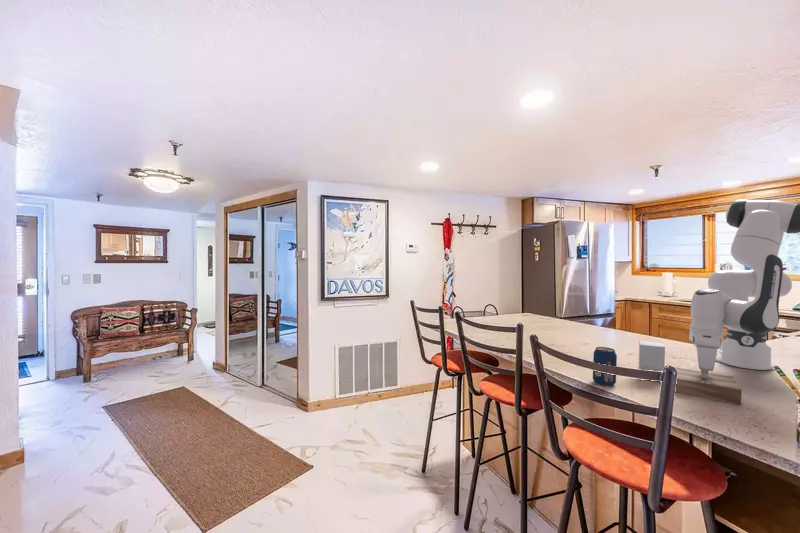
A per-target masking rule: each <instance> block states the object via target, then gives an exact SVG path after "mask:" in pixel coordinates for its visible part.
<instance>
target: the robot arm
mask: <svg viewBox="0 0 800 533" xmlns="http://www.w3.org/2000/svg"><path fill="white" fill-rule="evenodd" d="M725 218H726V223H727V224H728V226H730V227H733V228H737V231H736V233H735V235H734V238H733V241H732V243H731V247H730V254H731V256H732V259H734V260H735V261H736V262H737V263H738V264H740V265H742V266H744V267H747V268H748V269H747V270H746V269H724V270H717V271H713V272H712V273H711V275H709V277H708V279H707V285H708V288H702V289H698V290H696V291H694V293H693V295H692V299H691V301H690V302H691V303H690V317H691V322H690V325H689V338H688V339H689V341H690V342H692V343H693V345H694V346H695V348H696V355H697V356H696V357H697V366H698V368H699V370H700V371H701V377H702V378H708V373H710V372H713V371H714V369H715V366H716V362H719V363H723V364H725V365H729V366H733V367H737V368H743V369H748V370H749V369H750V370H759V371H767V370H771V371H772V370H773V371H774V369H773V367H774V366H775V365H774V364H772V348H771V347H770V346H769V345H768V344H767V343H766V342H767V339H768V337H767V336H768V335H767V334H768V333H770V332H772V331H774V330H775V329H776V328H777V327H778V325H779V323H780V310H779V308H780V307H779V304H780V298H782V297H785V296H787V295H788V294H790V292H791V290H792V288H793V282H792V280H791V278H790V277H789V275H788V274H786V273H785V272H783V271H784V264H783V261H782V259H781V258H780V257H779V251H780V248H781V246H782V242H783V239H784V234H785V233H786V234H788V235H789V234H799V233H800V202H797V203H795V202H789V201H785V200H783V201H782V200H773V199H772V200H765V199H763V200H762V199H750V200H749V199H748V198H746V199H744V198H743V199H736V200H734V201H733V202H732V203H731V204H730V206H728V208H727V209H726V213H725ZM749 298H754V299H753V300H751V301H749ZM724 327H727V328H726V330H725V329H724ZM724 330H725V331H724ZM724 332H725V337H726V339H725V340H724ZM718 349H719V354H718ZM717 354H718V355H717ZM709 371H710V372H709Z"/></svg>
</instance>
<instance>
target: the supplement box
mask: <svg viewBox="0 0 800 533" xmlns="http://www.w3.org/2000/svg"><path fill="white" fill-rule="evenodd" d="M665 356H666V347H665V345H664V344H663V342H655V341H654V342H653V341H645V340H639V343H638V369H641V370H653V371H662V370H663V368H664V369H665V359H666V357H665Z"/></svg>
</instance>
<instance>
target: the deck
mask: <svg viewBox="0 0 800 533" xmlns="http://www.w3.org/2000/svg"><path fill="white" fill-rule="evenodd" d="M676 369H677V371H678V377H677V384H676V392H675V393H676V394H682V395H685V396H686V395H687V396H690V397H691V396H692V397H697V398H701V399H702V398H703V399H706V400H707V399H708V400H713V401H718V402H721V403H722V402H723V403H728V404H732V405H738V406H741V405H742V392H743V391H742V389H741V388H739V387H738V385H737V382H736V380H735V378H734V376H731V375H725V374H720V373H719V374H718V373H713V372H708V378H702V377H701V370H700V371H699V370H696V369H695V370H693V369H687V368H682V367H675V370H676ZM703 381H706V382H708V383H710V384H708V383H703Z"/></svg>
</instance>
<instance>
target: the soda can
mask: <svg viewBox="0 0 800 533" xmlns="http://www.w3.org/2000/svg"><path fill="white" fill-rule="evenodd" d="M617 359H618V355H617V354H616V349H614V348H611V347H606V346H596V347H595V349H594V351H593V360H592V363H593V362H595V363H600V364H606V365H611V366H616V367H617ZM592 380H593V381H594V383H595V385H598V386H601V387H605V388H606V387H607V388H609V387H610V388H611V387H614V385H615V384H616V382H617V374H616V375H611V374H607V373H602V372H598V371H594V370H593V369H592Z"/></svg>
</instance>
